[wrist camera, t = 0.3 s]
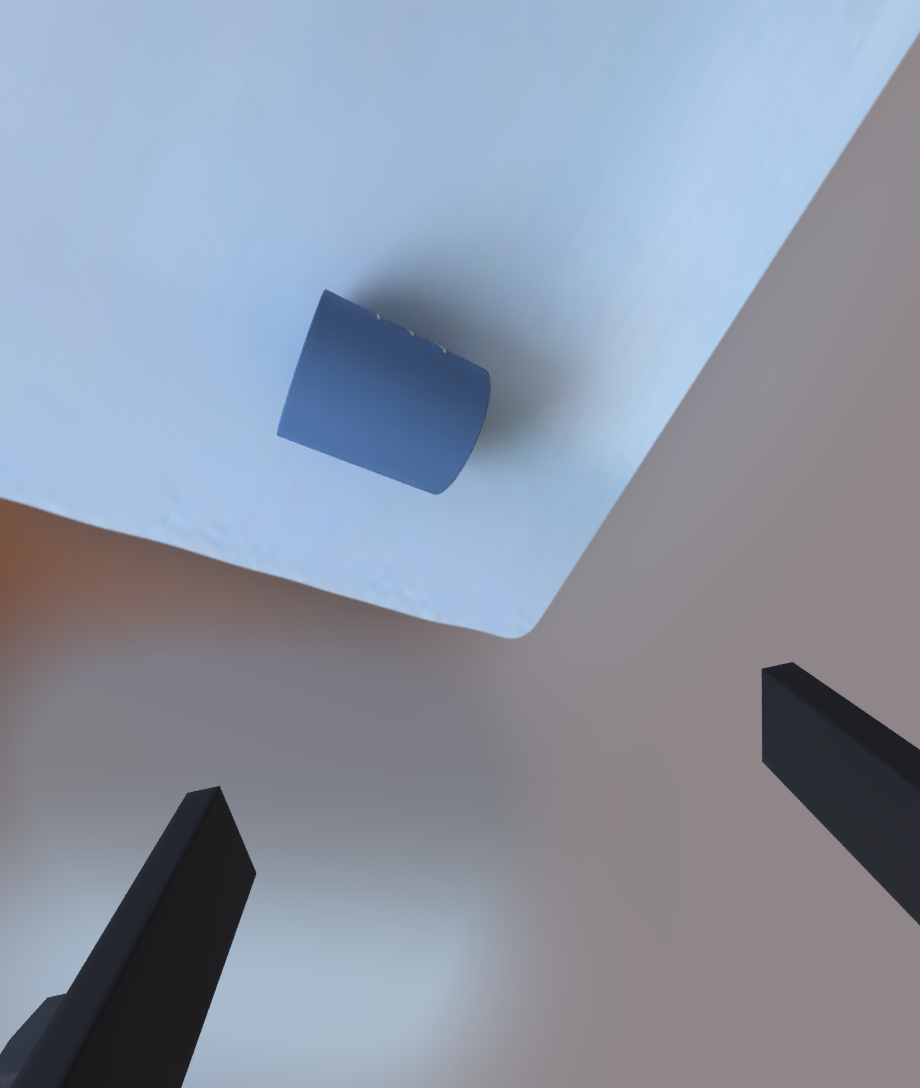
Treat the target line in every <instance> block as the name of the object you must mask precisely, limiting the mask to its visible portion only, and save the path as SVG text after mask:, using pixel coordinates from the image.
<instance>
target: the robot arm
mask: <svg viewBox="0 0 920 1088" xmlns="http://www.w3.org/2000/svg"><path fill="white" fill-rule="evenodd" d="M762 762H763V763H764V764H765V765H766V766H767V767H768V768H769V769H770V770H771V771H772V772H773V773H774V774H775V775H776V776H777V777H778V778H779V779H780V780H781V781H782V782H783V784H784V785H785V786H786V787H787V788H788V789H789V790H790V791H791V792H792V793H793V794H794V795H795V796H796V797H797V798H798V799H799V800H800V801H801V802H802V803H803V804H804V805H805V806H806V808H807V809H808V810H809V811H810V812H811V813H812V814H813V815H814V816H815V817H816V818H817V819H818V820H819V821H820V822H821V823H822V824H823V825H824V826H825V827H826V828H827V829H828V830H829V831H830V832H831V834H833V836H834V837H835V838H836V839H837V840H838V841H839V842H840V843H841V844H842V845H843V846H844V847H845V848H846V849H847V850H848V851H849V852H850V853H851V854H852V855H853V856H854V857H855V858H856V860H858V862H860V864H861V865H862V866H863V867H864V868H865V869H866V870H867V871H868V872H869V873H870V874H871V875H872V876H873V877H874V878H875V879H876V880H877V881H878V882H879V883H880V884H881V886H882V887H883V888H884V889H886V891H887V892H888V893H889V894H890V895H891V896H892V897H893V898H894V899H895V900H896V901H897V902H898V903H899V904H900V905H901V906H902V907H903V908H904V909H905V910H906V911H907V913H908V914H910V916H911V917H912V918H913V919H914V920H915V921H916V922H917V923H918V924H919V925H920V750H919V749H918V748H917V747H915V746H914V745H912V744H911V743H909V742H908V741H906V740H905V739H904V738H902V737H901V736H899V735H898V734H896V733H895V732H893V731H892V730H890V729H889V728H888V727H886V726H885V725H883V724H882V723H880V722H879V721H877V720H876V719H874V718H873V717H872V716H870V715H869V714H867V713H865V712H864V711H863V710H861V709H860V708H858V707H857V706H855V705H854V704H853V703H851V702H850V701H848V700H847V699H845V698H844V697H842V696H841V695H839V694H838V693H836V692H835V691H834V690H832V689H831V688H829V687H828V686H826V685H825V684H824V683H822V682H821V681H819V680H818V679H816V678H815V677H813V676H812V675H810V674H809V673H808V672H806V671H805V670H803V669H802V668H800V667H799V666H797V665H796V664H795V663H793V662H791V663H786V664H782V665H777V666H772V667H768V668H763V669H762ZM255 876H256V871H255V869H254V866H253V864H252V862H251V859H250V857H249V855H248V852H247V850H246V848H245V845H244V843H243V840H242V838H241V836H240V833H239V831H238V828H237V826H236V824H235V821H234V819H233V816H232V814H231V812H230V809H229V807H228V805H227V802H226V800H225V798H224V795H223V793H222V790H221V788H220V786H218V787H213V788H209V789H204V790H199V791H194V792H190V793H187V794H186V796H185V798H184V800H183V801H182V803H181V804H180V806H179V807H178V809H177V811H176V813H175V814H174V816H173V818H172V819H171V821H170V822H169V824H168V826H167V828H166V829H165V831H164V832H163V834H162V836H161V837H160V839H159V841H158V842H157V844H156V846H155V847H154V849H153V851H152V852H151V854H150V856H149V857H148V859H147V861H146V862H145V864H144V866H143V867H142V869H141V871H140V872H139V874H138V876H137V877H136V879H135V880H134V882H133V884H132V885H131V887H130V889H129V890H128V892H127V894H126V895H125V897H124V899H123V901H122V902H121V904H120V905H119V907H118V909H117V910H116V912H115V914H114V915H113V917H112V919H111V921H110V922H109V924H108V925H107V927H106V929H105V930H104V932H103V934H102V935H101V937H100V939H99V940H98V942H97V944H96V945H95V947H94V949H93V950H92V952H91V954H90V955H89V957H88V959H87V960H86V962H85V964H84V965H83V967H82V969H81V970H80V972H79V974H78V975H77V977H76V979H75V980H74V982H73V984H72V985H71V987H70V988H69V990H68V992H67V993H66V994H62V995H58V996H53V997H49V998H47V999H46V1000H45V1001H44V1002H43V1003H42V1004H41V1006H40V1007H39V1008H38V1009H37V1010H36V1011H35V1012H34V1013H33V1014H32V1015H31V1016H30V1018H29V1019H28V1020H27V1021H26V1022H25V1023H24V1024H23V1025H22V1027H21V1028H20V1029H19V1030H18V1031H17V1032H16V1033H15V1034H14V1035H13V1037H12V1038H11V1039H10V1040H9V1042H8V1043H7V1045H6V1046H5V1048H4V1049H3V1051H2V1052H1V1054H0V1088H181V1087H182V1084H183V1081H184V1078H185V1075H186V1072H187V1070H188V1067H189V1064H190V1061H191V1058H192V1055H193V1053H194V1050H195V1047H196V1044H197V1041H198V1038H199V1035H200V1033H201V1030H202V1027H203V1024H204V1021H205V1018H206V1016H207V1013H208V1010H209V1007H210V1004H211V1001H212V998H213V996H214V992H215V990H216V987H217V984H218V981H219V979H220V976H221V973H222V970H223V967H224V964H225V961H226V959H227V956H228V953H229V950H230V947H231V944H232V941H233V939H234V936H235V932H236V930H237V927H238V924H239V922H240V919H241V916H242V913H243V910H244V907H245V904H246V902H247V899H248V896H249V893H250V890H251V887H252V884H253V882H254V879H255Z"/></svg>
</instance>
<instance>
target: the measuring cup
mask: <svg viewBox="0 0 920 1088" xmlns="http://www.w3.org/2000/svg"><path fill="white" fill-rule="evenodd" d="M489 396H490V376H489V373H488V372H487V371H486V370H485V369H483V368H481V367H479V366H477V365H475V364H473V363H471V362H469V361H467V360H465V359H463V358H461V357H459V356H457V355H455V354H453V353H451V352H449V351H447V350H445V349H444V348H443V347H442V346H441V345H439V346H437V345H435V344H433V343H431V342H429V341H427V340H425V339H423V338H421V337H419V336H417V335H415V334H413V333H412V331H410V330H409V331H408V330H406V329H404V328H402V327H400V326H398V325H396V324H394V323H392V322H390V321H388V320H386V319H384V318H382V317H380V316H379V314H374V313H372V312H370V311H368V310H366V309H364V308H362V307H360V306H358V305H356V304H354V303H352V302H350V301H348V300H346V299H344V298H342V297H340V296H338V295H336V294H334V293H332V292H330V291H328V290H326V289H325V290H324V292H323V294H322V296H321V298H320V301H319V303H318V306H317V309H316V311H315V314H314V317H313V320H312V322H311V325H310V328H309V331H308V334H307V337H306V340H305V342H304V345H303V348H302V351H301V354H300V357H299V360H298V363H297V366H296V369H295V373H294V376H293V379H292V382H291V385H290V388H289V391H288V395H287V398H286V401H285V405H284V408H283V411H282V415H281V418H280V422H279V426H278V430H277V436H280V437H282V438H285V439H288V440H290V441H293V442H296V443H298V444H301V445H304V446H306V447H309V448H312V449H314V450H317V451H320V452H322V453H325V454H328V455H330V456H333V457H336V458H338V459H341V460H344V461H346V462H349V463H352V464H354V465H357V466H360V467H362V468H365V469H368V470H370V471H373V472H376V473H378V474H381V475H384V476H386V477H389V478H392V479H394V480H397V481H400V482H402V483H405V484H408V485H410V486H413V487H416V488H418V489H421V490H424V491H426V492H429V493H432V494H440V493H442V492H443V491H445V490H446V489H447V488H448V487H449V486H450V485H451V484H452V483H453V481H454V480H455V479H456V477H457V476H458V474H459V473H460V471H461V470H462V468H463V467H464V465H465V463H466V461H467V459H468V458H469V456H470V454H471V452H472V449H473V447H474V445H475V443H476V440H477V438H478V436H479V433H480V430H481V427H482V424H483V421H484V418H485V415H486V411H487V407H488V402H489Z"/></svg>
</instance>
